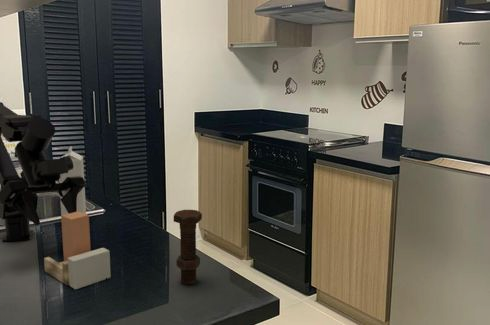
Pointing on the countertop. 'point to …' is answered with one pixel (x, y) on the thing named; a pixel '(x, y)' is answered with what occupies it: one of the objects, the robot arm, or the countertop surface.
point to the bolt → (188, 244)
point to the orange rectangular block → (75, 234)
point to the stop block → (89, 268)
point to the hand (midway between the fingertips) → (57, 221)
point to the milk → (76, 171)
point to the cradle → (57, 269)
